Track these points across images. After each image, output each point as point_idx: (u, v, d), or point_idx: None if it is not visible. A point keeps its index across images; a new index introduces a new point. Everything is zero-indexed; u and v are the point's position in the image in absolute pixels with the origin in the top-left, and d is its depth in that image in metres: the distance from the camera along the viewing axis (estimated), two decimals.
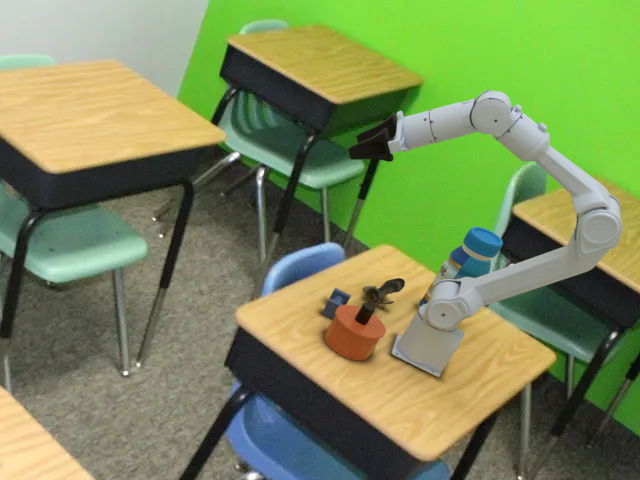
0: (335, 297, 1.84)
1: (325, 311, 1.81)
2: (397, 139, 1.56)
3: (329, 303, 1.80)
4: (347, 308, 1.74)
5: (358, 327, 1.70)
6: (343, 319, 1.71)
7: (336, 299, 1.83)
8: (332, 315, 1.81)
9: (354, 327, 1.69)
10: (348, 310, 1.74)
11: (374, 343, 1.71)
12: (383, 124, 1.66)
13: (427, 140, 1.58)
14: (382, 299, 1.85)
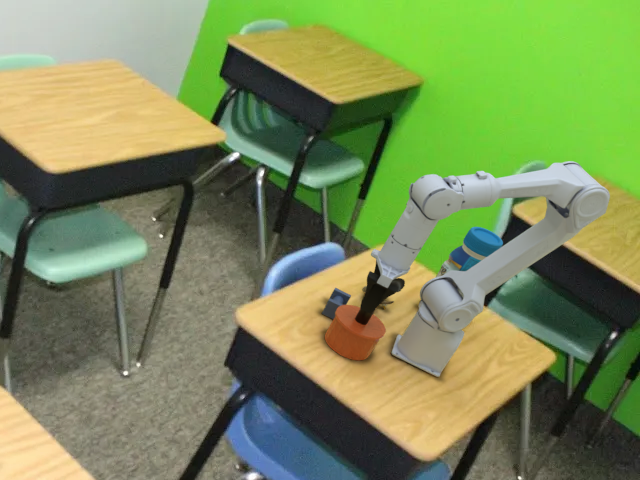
0: (335, 297, 1.84)
1: (325, 311, 1.81)
2: (381, 274, 1.59)
3: (329, 303, 1.80)
4: (347, 308, 1.74)
5: (358, 327, 1.70)
6: (343, 319, 1.71)
7: (336, 299, 1.83)
8: (332, 315, 1.81)
9: (354, 327, 1.69)
10: (348, 310, 1.74)
11: (374, 343, 1.71)
12: (376, 266, 1.70)
13: (409, 254, 1.60)
14: None
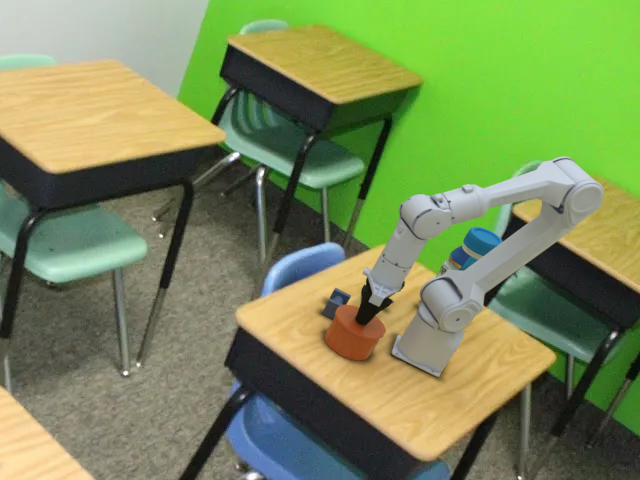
0: (335, 297, 1.84)
1: (325, 311, 1.81)
2: (372, 293, 1.62)
3: (329, 303, 1.80)
4: (347, 308, 1.74)
5: (358, 327, 1.70)
6: (343, 319, 1.71)
7: (336, 299, 1.83)
8: (332, 315, 1.81)
9: (354, 327, 1.69)
10: (348, 310, 1.74)
11: (374, 343, 1.71)
12: None
13: (400, 273, 1.62)
14: None
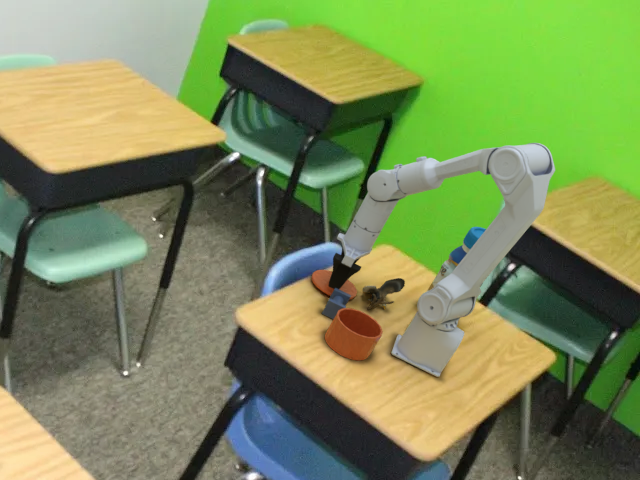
0: (335, 297, 1.84)
1: (325, 311, 1.81)
2: (345, 255, 1.80)
3: (329, 303, 1.80)
4: (323, 273, 1.93)
5: (332, 289, 1.89)
6: (318, 282, 1.90)
7: (336, 299, 1.83)
8: (332, 315, 1.81)
9: (328, 289, 1.88)
10: (323, 274, 1.93)
11: (374, 343, 1.71)
12: None
13: (370, 237, 1.81)
14: (382, 299, 1.85)
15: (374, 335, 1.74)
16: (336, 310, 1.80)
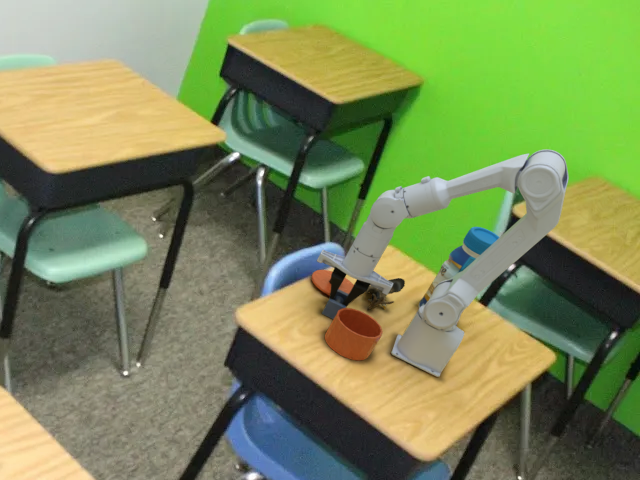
0: (335, 297, 1.84)
1: (325, 311, 1.81)
2: None
3: (329, 303, 1.80)
4: (323, 273, 1.93)
5: None
6: (318, 282, 1.90)
7: (336, 299, 1.83)
8: (332, 315, 1.81)
9: (328, 289, 1.88)
10: (323, 274, 1.93)
11: (374, 343, 1.71)
12: None
13: (351, 251, 1.75)
14: (382, 299, 1.85)
15: (374, 335, 1.74)
16: (336, 310, 1.80)
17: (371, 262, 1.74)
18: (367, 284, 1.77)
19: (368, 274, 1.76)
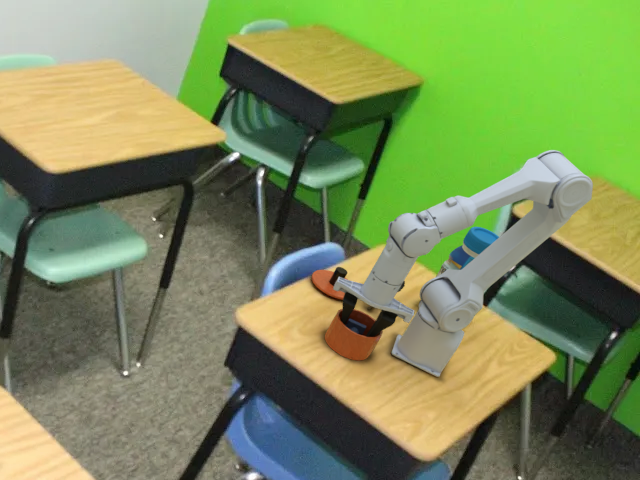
0: (350, 328, 1.75)
1: None
2: None
3: None
4: (323, 273, 1.93)
5: (332, 289, 1.89)
6: (318, 282, 1.90)
7: None
8: None
9: (328, 289, 1.88)
10: (323, 274, 1.93)
11: (374, 343, 1.71)
12: (379, 314, 1.72)
13: (370, 279, 1.66)
14: None
15: None
16: None
17: (392, 290, 1.65)
18: (394, 315, 1.68)
19: (388, 302, 1.67)
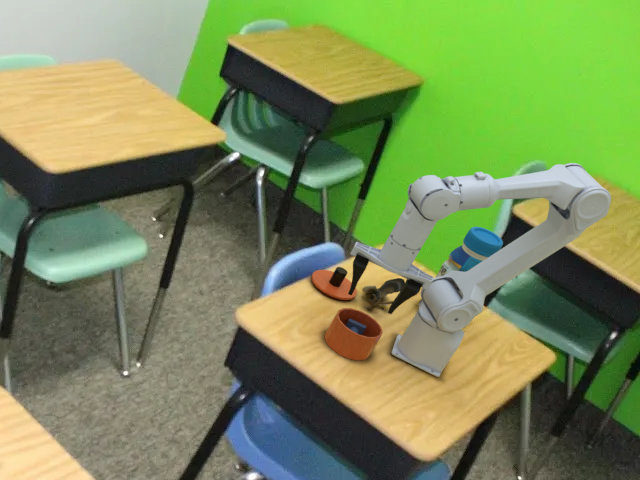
0: (350, 328, 1.75)
1: None
2: None
3: None
4: (323, 273, 1.93)
5: (332, 289, 1.89)
6: (318, 282, 1.90)
7: None
8: None
9: (328, 289, 1.88)
10: (323, 274, 1.93)
11: (374, 343, 1.71)
12: (404, 284, 1.68)
13: (388, 243, 1.62)
14: (382, 299, 1.85)
15: (374, 335, 1.74)
16: None
17: (410, 255, 1.61)
18: (419, 285, 1.64)
19: (407, 268, 1.63)
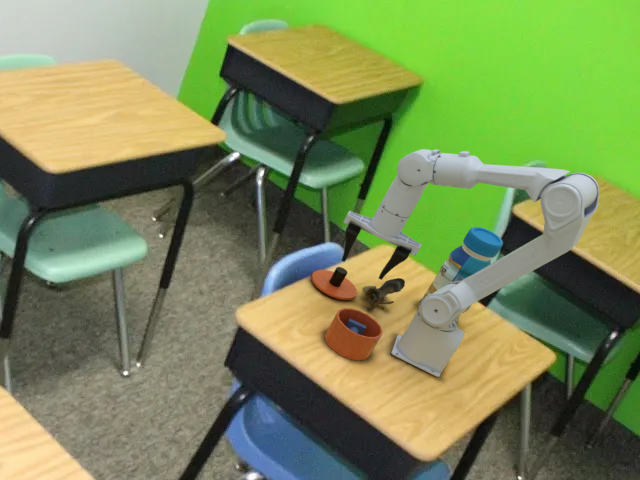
0: (350, 328, 1.75)
1: None
2: None
3: None
4: (323, 273, 1.93)
5: (332, 289, 1.89)
6: (318, 282, 1.90)
7: None
8: None
9: (328, 289, 1.88)
10: (323, 274, 1.93)
11: (374, 343, 1.71)
12: None
13: (379, 211, 1.73)
14: (382, 299, 1.85)
15: (374, 335, 1.74)
16: None
17: (399, 222, 1.72)
18: (408, 251, 1.75)
19: (396, 235, 1.74)
